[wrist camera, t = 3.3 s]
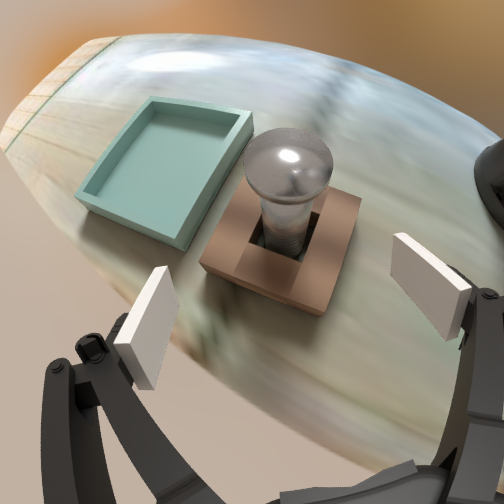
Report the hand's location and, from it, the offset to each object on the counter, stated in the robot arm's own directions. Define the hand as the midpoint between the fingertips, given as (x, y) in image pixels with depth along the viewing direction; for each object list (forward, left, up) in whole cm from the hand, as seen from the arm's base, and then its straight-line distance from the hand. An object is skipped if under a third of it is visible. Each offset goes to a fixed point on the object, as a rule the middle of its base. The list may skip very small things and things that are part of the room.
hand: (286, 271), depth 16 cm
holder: (-6, -2, -12) cm, 14 cm away
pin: (-6, -2, -12) cm, 14 cm away
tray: (-10, -19, -12) cm, 25 cm away
